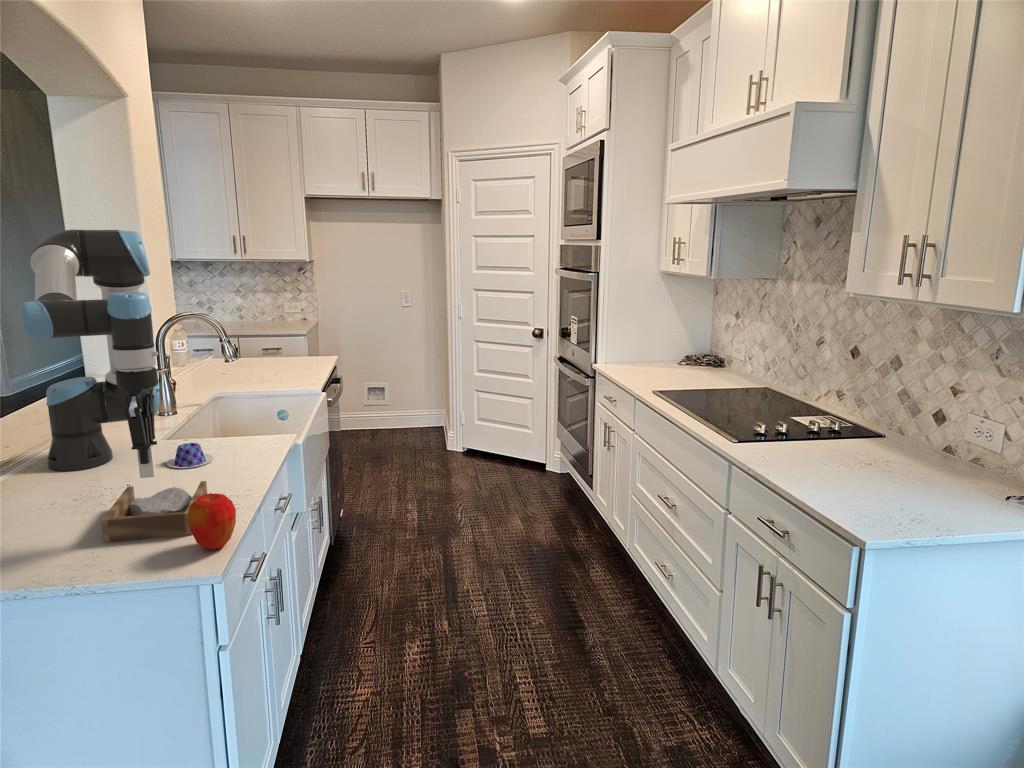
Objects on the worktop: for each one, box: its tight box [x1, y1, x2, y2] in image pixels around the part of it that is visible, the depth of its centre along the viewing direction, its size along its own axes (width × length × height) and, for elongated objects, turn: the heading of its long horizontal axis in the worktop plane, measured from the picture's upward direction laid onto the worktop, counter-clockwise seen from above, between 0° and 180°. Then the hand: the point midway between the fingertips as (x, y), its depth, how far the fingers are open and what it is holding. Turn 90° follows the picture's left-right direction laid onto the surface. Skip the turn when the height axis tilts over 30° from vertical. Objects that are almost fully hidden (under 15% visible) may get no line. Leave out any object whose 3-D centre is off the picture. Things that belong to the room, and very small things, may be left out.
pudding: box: [165, 442, 214, 469], centre depth 184 cm, size 12×12×5 cm
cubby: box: [100, 480, 208, 544], centre depth 147 cm, size 19×17×5 cm
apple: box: [187, 492, 237, 550], centre depth 134 cm, size 9×9×12 cm
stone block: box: [129, 486, 193, 516], centre depth 152 cm, size 12×5×10 cm
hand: (148, 476), depth 139 cm, fingers closed
